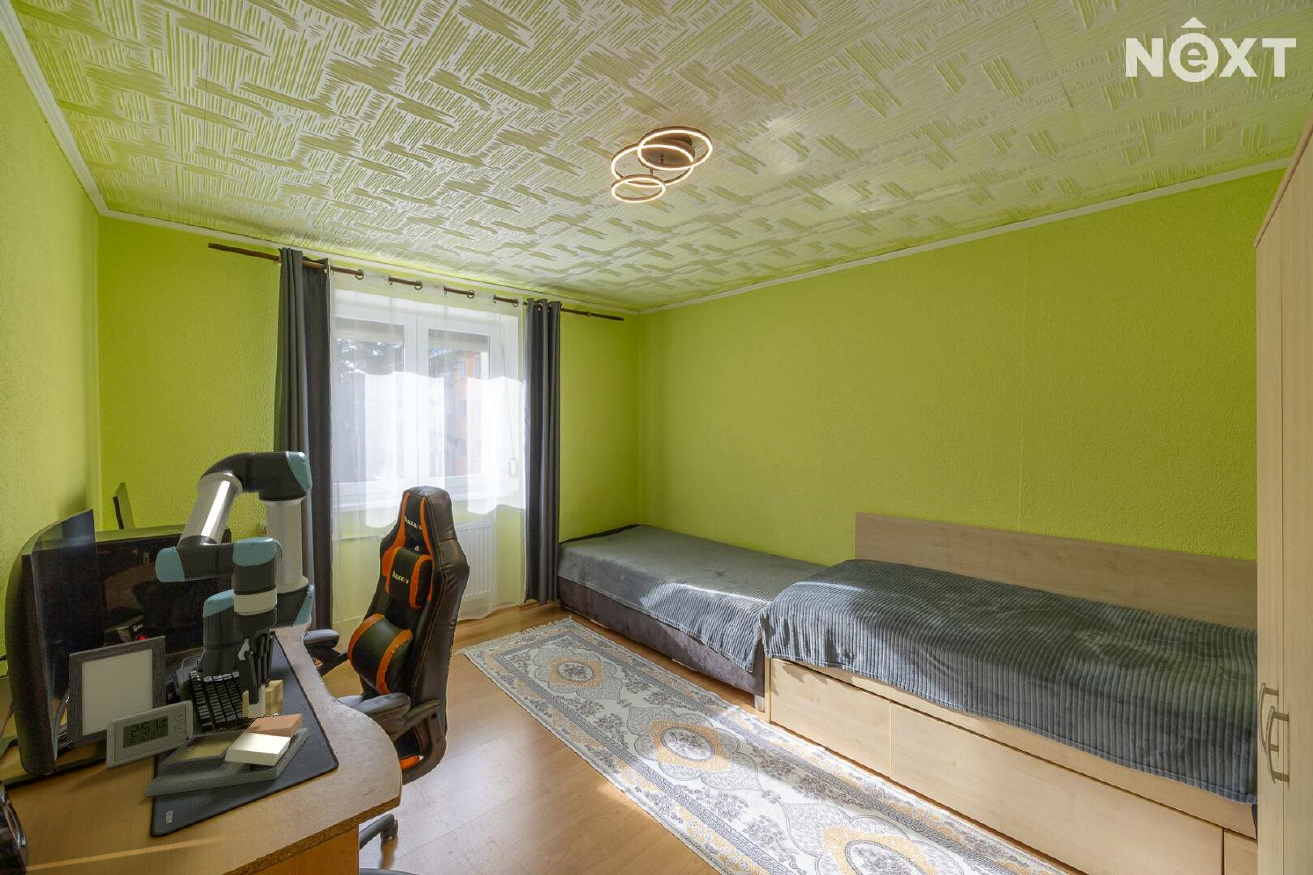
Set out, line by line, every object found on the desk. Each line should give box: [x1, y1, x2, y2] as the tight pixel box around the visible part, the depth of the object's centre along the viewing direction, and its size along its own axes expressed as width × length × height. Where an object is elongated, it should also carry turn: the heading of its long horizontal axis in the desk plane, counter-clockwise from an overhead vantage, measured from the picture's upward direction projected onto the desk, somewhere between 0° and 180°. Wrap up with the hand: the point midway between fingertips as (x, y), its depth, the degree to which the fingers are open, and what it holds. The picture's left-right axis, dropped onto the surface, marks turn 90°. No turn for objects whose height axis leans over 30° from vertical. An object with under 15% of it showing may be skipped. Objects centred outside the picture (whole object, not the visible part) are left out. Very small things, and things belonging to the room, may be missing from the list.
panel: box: [145, 726, 310, 798], centre depth 112 cm, size 16×22×4 cm
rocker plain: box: [225, 732, 291, 766], centre depth 109 cm, size 6×9×2 cm, turn 103°
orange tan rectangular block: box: [243, 713, 303, 738], centre depth 117 cm, size 6×9×2 cm, turn 103°
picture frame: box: [66, 635, 167, 748], centre depth 123 cm, size 16×2×21 cm, turn 133°
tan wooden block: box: [242, 679, 284, 718], centre depth 130 cm, size 6×6×9 cm
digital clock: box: [106, 700, 194, 769], centre depth 116 cm, size 14×8×9 cm, turn 121°
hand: (256, 715), depth 117 cm, fingers closed
